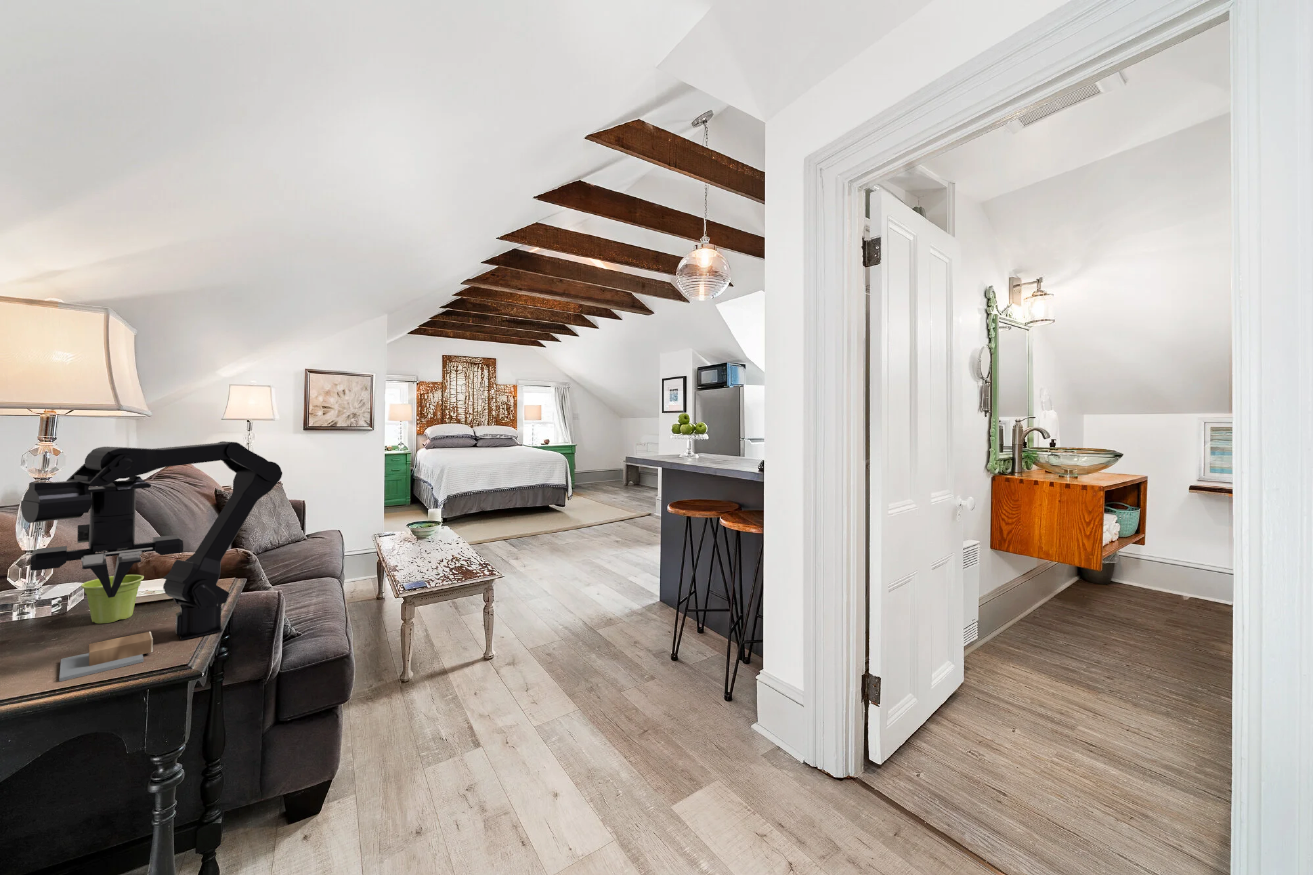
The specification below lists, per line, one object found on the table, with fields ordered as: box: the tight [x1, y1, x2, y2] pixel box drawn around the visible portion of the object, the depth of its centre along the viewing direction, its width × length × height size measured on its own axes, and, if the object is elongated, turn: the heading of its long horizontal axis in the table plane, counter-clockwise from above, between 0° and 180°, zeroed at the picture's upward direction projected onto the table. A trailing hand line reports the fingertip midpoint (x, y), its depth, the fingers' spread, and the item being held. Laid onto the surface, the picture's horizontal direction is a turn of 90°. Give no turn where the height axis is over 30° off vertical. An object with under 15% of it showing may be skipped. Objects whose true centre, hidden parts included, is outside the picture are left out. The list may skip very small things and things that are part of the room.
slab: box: [88, 631, 154, 666], centre depth 93 cm, size 2×5×8 cm
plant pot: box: [80, 574, 145, 624], centre depth 110 cm, size 9×9×9 cm
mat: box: [58, 652, 144, 682], centre depth 91 cm, size 10×10×1 cm
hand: (111, 596), depth 91 cm, fingers closed
